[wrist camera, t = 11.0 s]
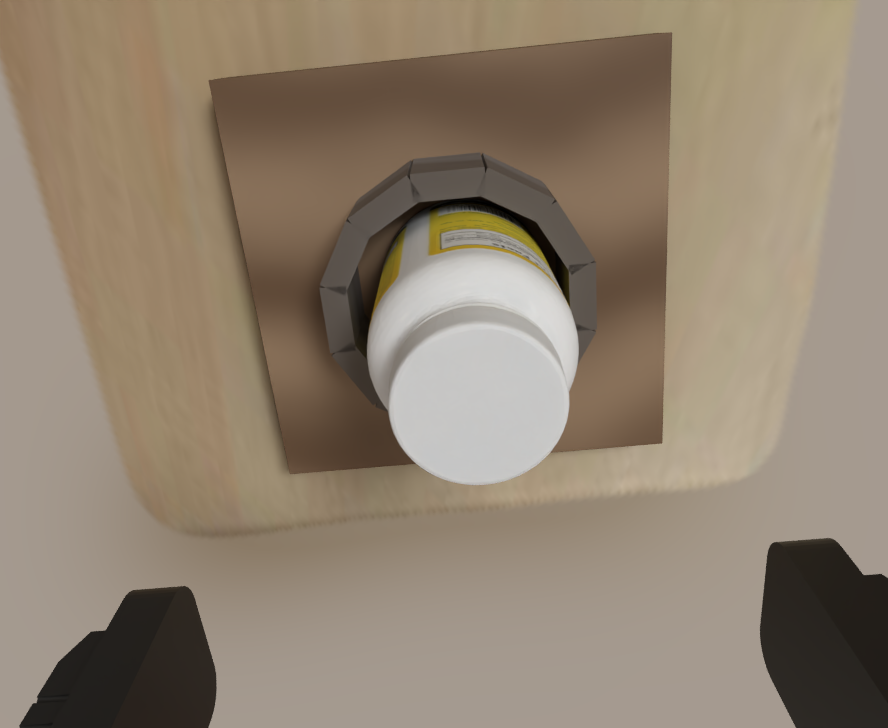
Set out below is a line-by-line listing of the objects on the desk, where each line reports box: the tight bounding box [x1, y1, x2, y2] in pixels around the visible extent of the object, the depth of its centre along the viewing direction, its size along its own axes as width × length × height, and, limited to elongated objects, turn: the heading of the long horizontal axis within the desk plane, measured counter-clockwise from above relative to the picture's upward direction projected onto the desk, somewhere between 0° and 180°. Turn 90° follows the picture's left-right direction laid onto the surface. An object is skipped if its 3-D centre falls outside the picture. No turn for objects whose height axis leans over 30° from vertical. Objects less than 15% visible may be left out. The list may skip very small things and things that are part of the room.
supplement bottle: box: [367, 199, 579, 485], centre depth 21 cm, size 5×5×10 cm
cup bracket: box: [209, 33, 672, 474], centre depth 25 cm, size 14×14×5 cm
